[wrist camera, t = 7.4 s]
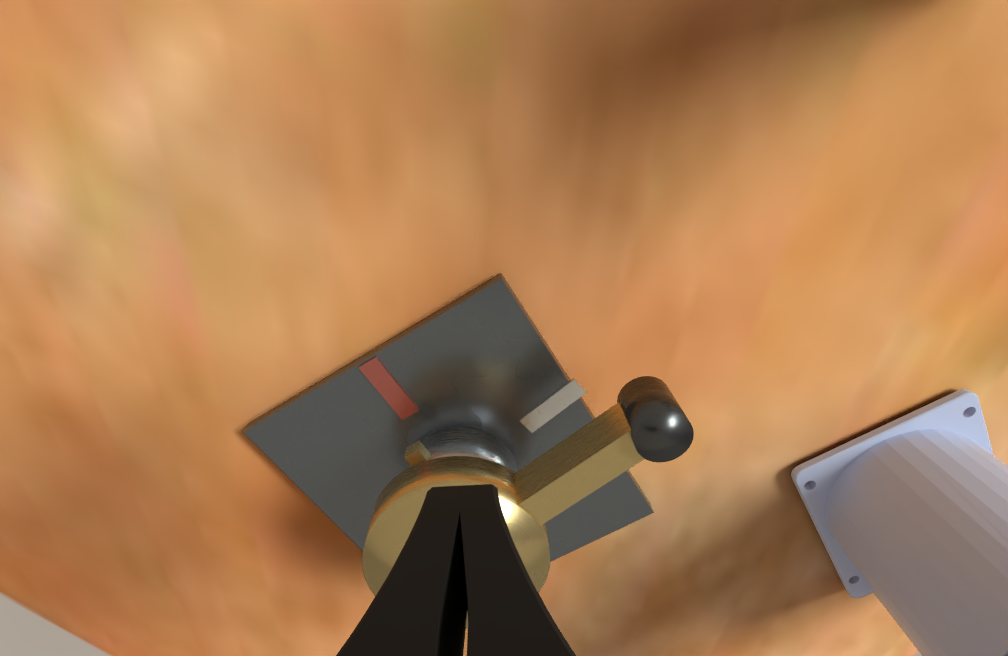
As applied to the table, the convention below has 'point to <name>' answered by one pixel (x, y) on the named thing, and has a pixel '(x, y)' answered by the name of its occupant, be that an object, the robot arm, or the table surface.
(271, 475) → the table surface
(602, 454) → the brass lever handle
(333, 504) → the dark grey plate
